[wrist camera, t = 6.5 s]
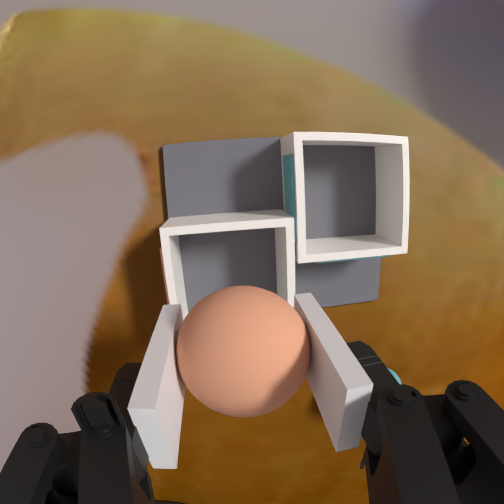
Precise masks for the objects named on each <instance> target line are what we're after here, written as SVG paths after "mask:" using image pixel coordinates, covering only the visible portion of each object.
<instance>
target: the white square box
mask: <svg viewBox="0 0 504 504" xmlns="http://www.w3.org/2000/svg"><path fill="white" fill-rule="evenodd" d="M260 228H275V248H276V276H277V295H279V296H280V297H282V298H283V299H284V300H286V301H287V302H288V303H289V304H290V305H291V306H292V307H293V308H294V294H295V239H294V217H292V216H290V215H289V214H287V213H286V212H284V211H283V210H281V209H278V210H262V211H247V212H233V213H220V214H208V215H196V216H184V217H173V218H169V219H168V220H167V221H166V222H165V223H164V224H163V225H162V226H161V227H160V228H159V230H160V238H161V248H160V256H161V264H162V271H163V278H164V285H165V291H166V298H167V304H168V305H172V304H181V311H182V317H183V321H184V319H185V317H186V315H187V314H188V308H187V301H186V293H185V286H184V278H183V270H182V262H181V253H180V245H179V235H184V234H196V233H208V232H221V231H234V230H247V229H260Z"/></svg>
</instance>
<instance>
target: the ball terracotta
mask: <svg viewBox="0 0 504 504" xmlns="http://www.w3.org/2000/svg"><path fill="white" fill-rule="evenodd" d="M310 355H311V353H310V341H309V335H308V332H307V330H306V327H305V324H304V322H303V321H302V319H301V317H300V316H299V314H298V313H297V311H296V310H295V309H294V308H293V307H292V306H291V305H290V304H289V303H288V302H287V301H286V300H284V299H283V298H282V297H280V296H279V295H277V294H275V293H273V292H271V291H268V290H265V289H263V288H259V287H254V286H231V287H227V288H223V289H220V290H217V291H215V292H213V293H211V294H209V295H207V296H206V297H204V298H203V299H202V300H200V301H199V302H198V303H197V304H196V305H195V306H194V307H193V308H192V309H191V310H190V312H189V313H188V314H187V315H186V317H185V319H184V321H183V322H182V325H181V327H180V330H179V333H178V336H177V342H176V359H177V366H178V369H179V372H180V375H181V377H182V379H183V382H184V383H185V385H186V386H187V388H188V389H189V391H190V392H191V393H192V394H193V395H194V397H195V398H197V399H198V400H199V401H200V402H201V403H203V404H204V405H205V406H207V407H208V408H210V409H212V410H214V411H217V412H219V413H222V414H225V415H229V416H235V417H252V416H258V415H262V414H265V413H268V412H270V411H273V410H275V409H276V408H278V407H280V406H281V405H283V404H284V403H286V402H287V401H288V400H289V399H290V398H291V397H292V396H293V395H294V394H295V393H296V391H297V390H298V389H299V387H300V386H301V384H302V383H303V381H304V378H305V376H306V374H307V371H308V367H309V362H310Z"/></svg>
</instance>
